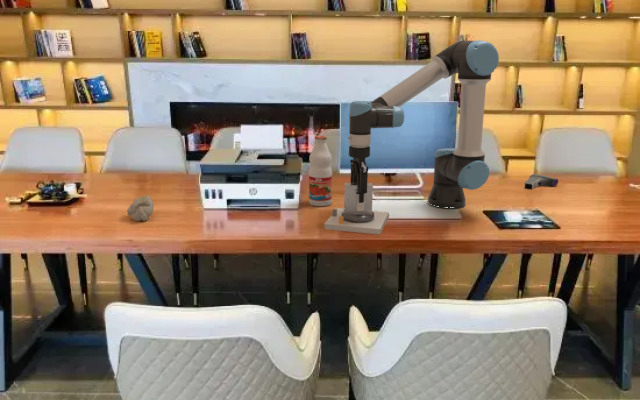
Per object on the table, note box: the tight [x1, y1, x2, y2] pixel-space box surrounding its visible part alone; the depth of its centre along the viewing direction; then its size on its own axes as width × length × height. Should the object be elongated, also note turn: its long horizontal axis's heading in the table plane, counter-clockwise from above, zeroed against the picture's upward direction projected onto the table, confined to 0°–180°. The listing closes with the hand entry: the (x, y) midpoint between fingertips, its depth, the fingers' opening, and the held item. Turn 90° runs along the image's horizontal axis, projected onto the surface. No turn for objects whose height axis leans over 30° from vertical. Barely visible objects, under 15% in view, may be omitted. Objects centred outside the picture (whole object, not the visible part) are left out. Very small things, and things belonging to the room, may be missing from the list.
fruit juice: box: [308, 134, 333, 207], centre depth 218 cm, size 9×9×28 cm
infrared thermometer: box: [524, 173, 559, 190], centre depth 249 cm, size 5×12×15 cm
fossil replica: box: [126, 194, 155, 222], centre depth 201 cm, size 12×8×10 cm
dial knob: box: [342, 182, 374, 222], centre depth 196 cm, size 12×12×12 cm
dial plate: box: [323, 207, 390, 235], centre depth 198 cm, size 20×20×4 cm
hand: (358, 208), depth 197 cm, fingers closed on dial knob, 4 cm apart
